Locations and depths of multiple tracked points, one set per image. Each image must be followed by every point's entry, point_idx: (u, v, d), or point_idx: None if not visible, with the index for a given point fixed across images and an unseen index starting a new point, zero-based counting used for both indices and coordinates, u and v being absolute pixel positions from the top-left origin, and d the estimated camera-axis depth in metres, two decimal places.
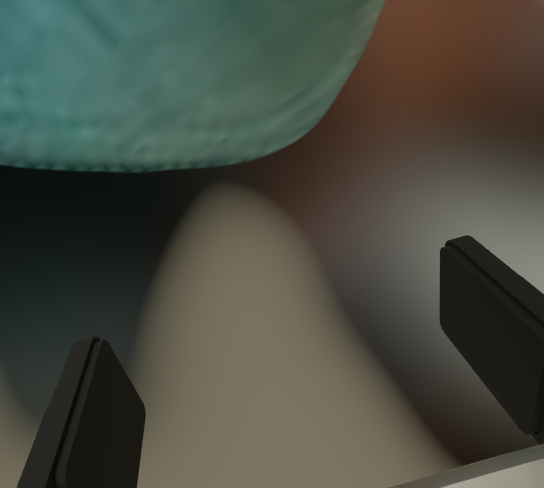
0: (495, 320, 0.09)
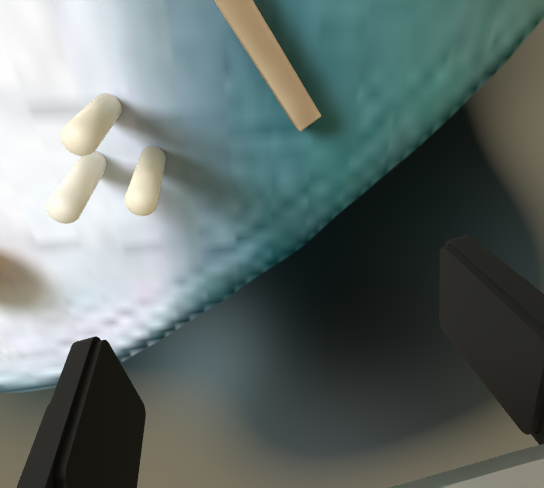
0: (495, 320, 0.09)
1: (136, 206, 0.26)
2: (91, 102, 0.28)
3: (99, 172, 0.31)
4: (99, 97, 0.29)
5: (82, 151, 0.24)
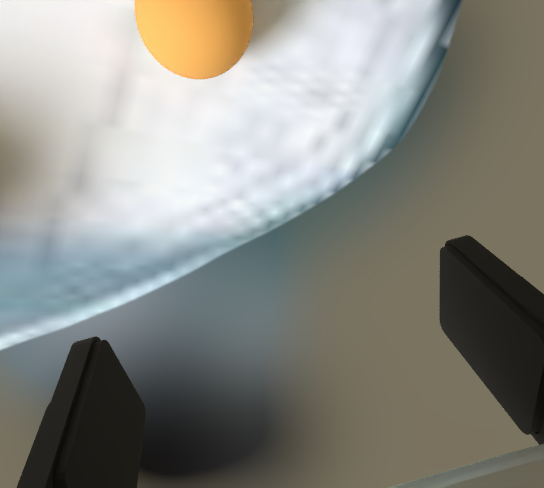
0: (495, 320, 0.09)
1: None
2: None
3: None
4: None
5: None
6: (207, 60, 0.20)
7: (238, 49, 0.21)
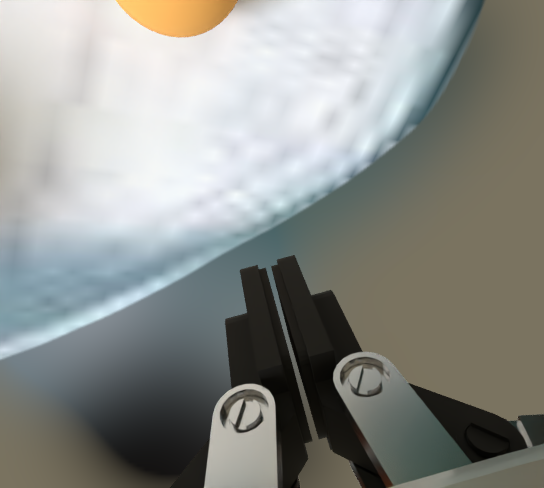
0: (291, 335, 0.10)
1: None
2: None
3: None
4: None
5: None
6: (189, 6, 0.16)
7: None
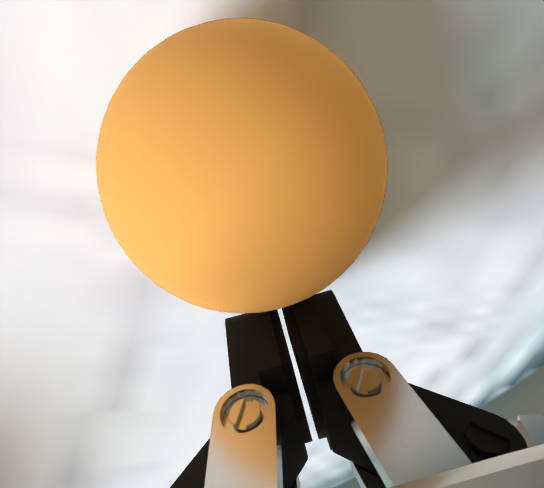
0: (291, 335, 0.10)
1: None
2: None
3: None
4: None
5: None
6: (280, 139, 0.06)
7: (369, 144, 0.07)
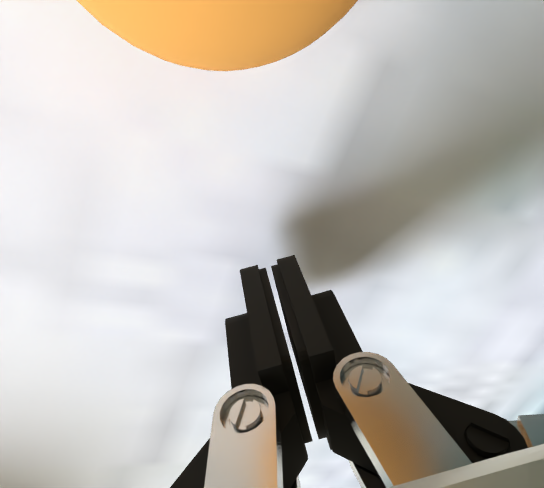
0: (291, 335, 0.10)
1: None
2: None
3: None
4: None
5: None
6: None
7: None
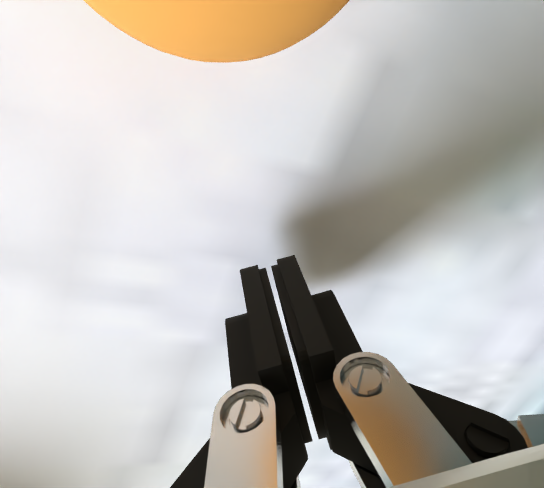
0: (291, 335, 0.10)
1: None
2: None
3: None
4: None
5: None
6: None
7: None
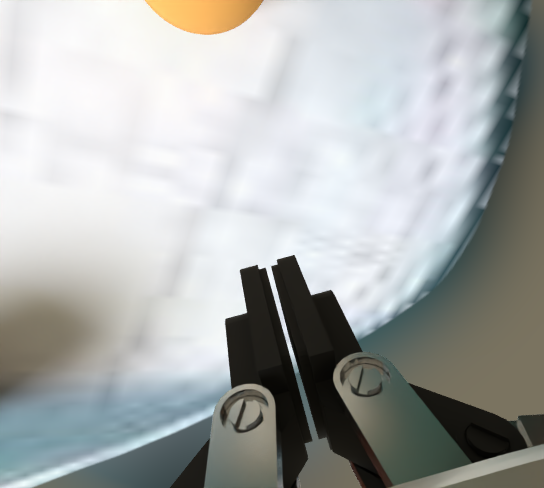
0: (291, 335, 0.10)
1: None
2: None
3: None
4: None
5: None
6: None
7: None
